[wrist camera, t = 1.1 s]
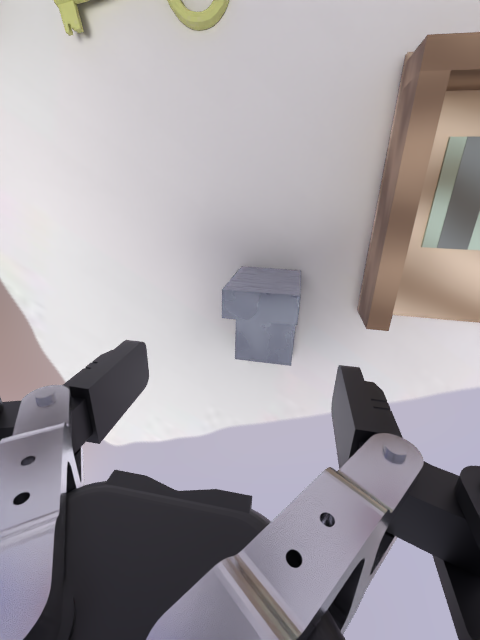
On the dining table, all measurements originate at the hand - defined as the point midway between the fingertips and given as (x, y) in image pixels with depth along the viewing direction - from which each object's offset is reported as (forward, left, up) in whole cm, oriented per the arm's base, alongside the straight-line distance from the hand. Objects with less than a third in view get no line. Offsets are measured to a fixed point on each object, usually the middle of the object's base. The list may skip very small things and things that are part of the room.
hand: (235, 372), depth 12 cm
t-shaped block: (+3, 0, -15) cm, 15 cm away
